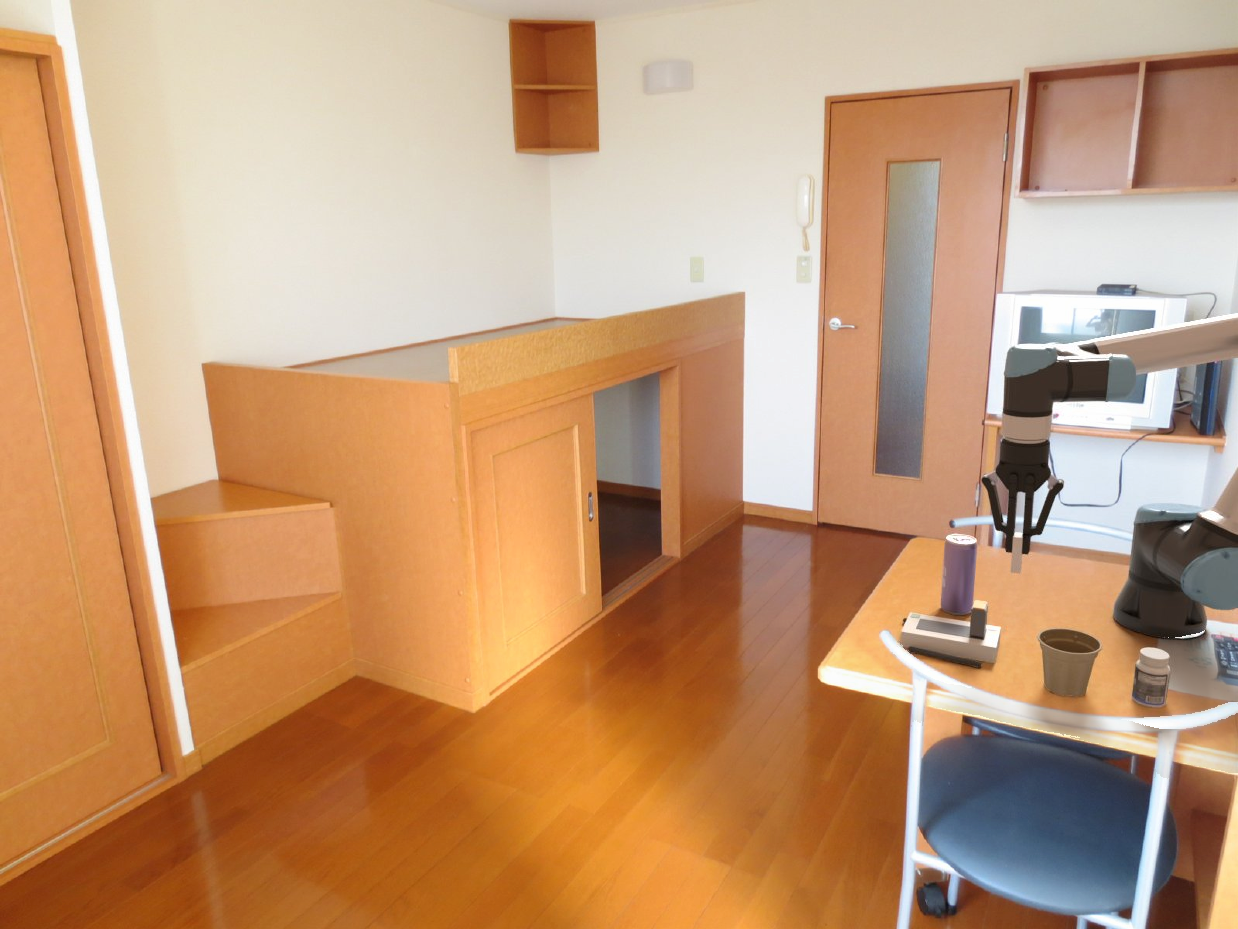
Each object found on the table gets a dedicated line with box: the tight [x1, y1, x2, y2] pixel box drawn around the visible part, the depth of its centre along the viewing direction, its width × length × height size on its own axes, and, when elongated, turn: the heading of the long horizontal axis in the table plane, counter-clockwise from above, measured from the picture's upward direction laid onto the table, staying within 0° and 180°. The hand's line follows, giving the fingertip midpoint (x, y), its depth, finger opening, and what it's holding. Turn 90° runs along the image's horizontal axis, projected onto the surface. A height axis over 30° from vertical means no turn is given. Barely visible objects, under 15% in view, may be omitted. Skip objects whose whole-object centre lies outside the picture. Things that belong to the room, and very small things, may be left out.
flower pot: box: [1036, 627, 1103, 698], centre depth 144 cm, size 9×9×9 cm
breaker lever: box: [969, 599, 989, 637], centre depth 158 cm, size 2×4×5 cm, turn 152°
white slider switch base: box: [900, 611, 1002, 664], centre depth 161 cm, size 16×9×3 cm, turn 62°
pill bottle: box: [1131, 646, 1171, 709], centre depth 140 cm, size 5×5×8 cm
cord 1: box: [907, 646, 983, 669], centre depth 156 cm, size 12×1×1 cm, turn 56°
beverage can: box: [940, 533, 978, 616], centre depth 174 cm, size 6×6×15 cm
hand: (1016, 570), depth 153 cm, fingers closed
